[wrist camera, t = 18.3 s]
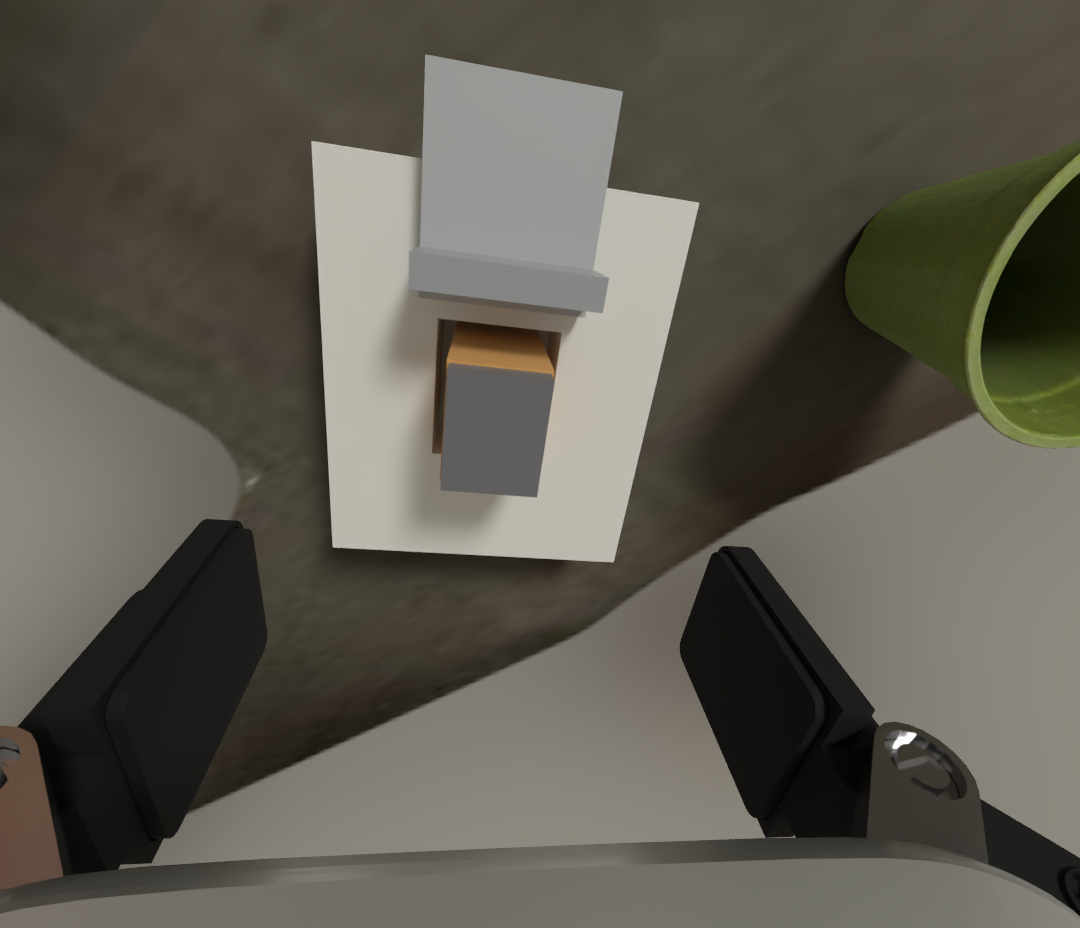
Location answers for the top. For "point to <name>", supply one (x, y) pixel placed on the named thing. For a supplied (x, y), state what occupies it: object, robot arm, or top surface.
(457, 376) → the tan boxy piece
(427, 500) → the socket
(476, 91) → the grey block
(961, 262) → the plant pot
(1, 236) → the top surface
